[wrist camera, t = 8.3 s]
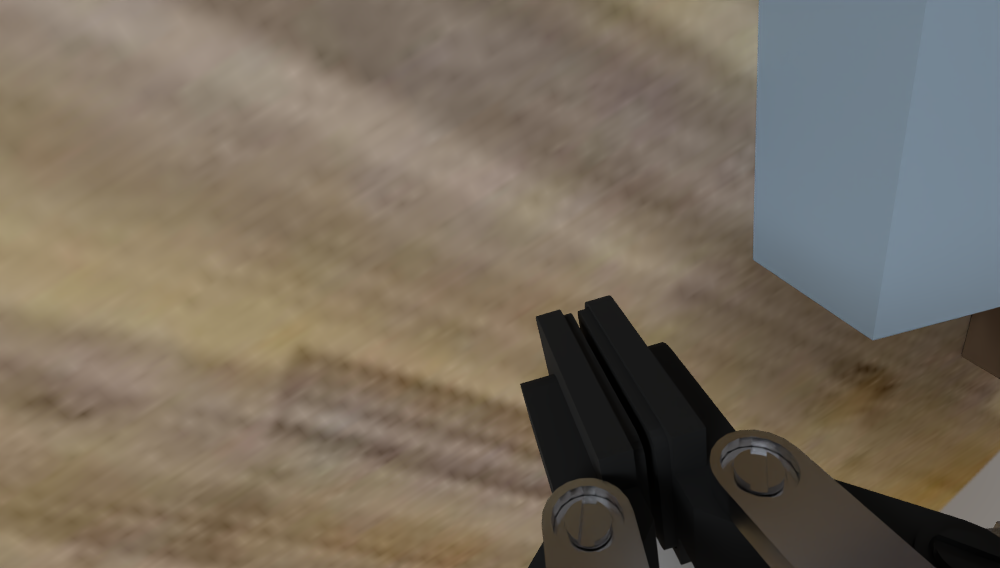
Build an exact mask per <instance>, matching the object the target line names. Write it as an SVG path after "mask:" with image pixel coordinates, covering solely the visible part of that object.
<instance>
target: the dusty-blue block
mask: <svg viewBox="0 0 1000 568" xmlns="http://www.w3.org/2000/svg"><path fill="white" fill-rule="evenodd" d="M753 260H754V261H756V262H757V263H759V264H760V265H762V266H763V267H765V268H766V269H768V270H769V271H771V272H772V273H774V274H775V275H777V276H778V277H779V278H781V279H782V280H784V281H785V282H787V283H788V284H790V285H791V286H793V287H794V288H796V289H797V290H799V291H800V292H802V293H803V294H805V295H806V296H808V297H809V298H811V299H812V300H814V301H815V302H816V303H818V304H819V305H821V306H822V307H824V308H825V309H827V310H828V311H830V312H831V313H833V314H834V315H836V316H837V317H839V318H840V319H842V320H843V321H845V322H846V323H848V324H849V325H850V326H852V327H853V328H855V329H856V330H858V331H859V332H861V333H862V334H864V335H865V336H867V337H868V338H870V339H871V340H876V339H880V338H884V337H888V336H891V335H895V334H899V333H903V332H907V331H910V330H914V329H918V328H922V327H925V326H929V325H933V324H937V323H941V322H944V321H948V320H952V319H956V318H960V317H963V316H967V315H971V314H975V313H978V312H982V311H986V310H990V309H994V308H997V307H1000V0H759V23H758V66H757V109H756V152H755V195H754V238H753Z"/></svg>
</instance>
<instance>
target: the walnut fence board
mask: <svg viewBox="0 0 1000 568" xmlns="http://www.w3.org/2000/svg"><path fill="white" fill-rule="evenodd" d="M962 357H964V358H966V359H967V360H969V361H971V362H972V363H974V364H976V365H977V366H979V367H981V368H982V369H984V370H986V371H987V372H989V373H991V374H992V375H994V376H996V377H997V378H999V379H1000V307H997V308H994V309H990V310H986V311H982V312H978V313H975V314H972V317H971V321H970V325H969V329H968V333H967V337H966V341H965V344H964V348H963V352H962Z"/></svg>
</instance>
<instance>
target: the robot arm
mask: <svg viewBox="0 0 1000 568" xmlns="http://www.w3.org/2000/svg"><path fill="white" fill-rule="evenodd" d="M578 319H579V324H580V328H579V326H578V324H577V322H576V320H575V319H574V317H573V315H572V314H571V313H570V314H566V315H563V314H562V312H561V310H557V311H553V312H550V313H546V314H543V315H539V316H536V321H537V326H538V330H539V334H540V338H541V343H542V347H543V351H544V356H545V360H546V364H547V368H548V373H549V376H545V377H542V378H539V379H535V380H532V381H528V382H525V383H522V384H520V385H521V389H522V393H523V396H524V400H525V403H526V407H527V411H528V414H529V418H530V421H531V425H532V428H533V432H534V435H535V438H536V442H537V445H538V448H539V452H540V455H541V458H542V461H543V465H544V468H545V471H546V475H547V478H548V481H549V484H550V488H551V491H552V495H551V496H550V497H549V498H548V499H547V502H546V504H545V507H544V509H543V512H542V533H543V543H542V545H541V547H540V548H539V550H538V552H537V553H536V555H535V557H534V558H533V560H532V562H531V564H530V565H529V567H528V568H660V567H659V558H658V549H657V540H656V537H657V539H658V541H659V543H660V545H661V547H662V548H663V550H667V549H670V548H673V550H674V552H675V554H676V556H677V558H678V560H679V562H680V564H681V565H683V564H686V563H689V562H692V564H693V566H694V568H1000V521H997V522H996V524H995V526H994V528H989V529H985V528H982V527H980V526H978V525H975V524H973V523H970V522H968V521H965V520H963V519H959V518H956V517H953V516H950V515H947V514H943V513H940V512H937V511H934V510H931V509H927V508H924V507H921V506H918V505H915V504H911V503H908V502H905V501H902V500H899V499H895V498H892V497H889V496H886V495H883V494H879V493H876V492H873V491H870V490H867V489H863V488H860V487H857V486H854V485H851V484H847V483H844V482H841V481H838V480H835V479H833V478H832V477H831V476H830V475H828V474H827V473H826V472H825V471H824V470H823V469H822V468H820V467H819V466H818V465H817V464H816V463H815V462H813V461H812V460H811V459H810V458H809V457H808V456H807V455H805V454H804V453H803V452H802V451H801V450H800V449H799V448H797V447H796V446H795V445H793V444H792V443H790V442H789V441H787V440H786V439H784V438H782V437H780V436H777V435H775V434H772V433H770V432H764V431H759V430H739V431H735V430H734V428H733V427H732V426H731V424H730V423H729V422H728V421H727V419H726V418H725V417H724V416H723V414H722V413H721V412H720V410H719V409H718V408H717V407H716V405H715V404H714V403H713V402H712V400H711V399H710V398H709V396H708V395H707V394H706V393H705V391H704V390H703V389H702V388H701V386H700V385H699V384H698V382H697V381H696V380H695V379H694V377H693V376H692V375H691V374H690V372H689V371H688V370H687V368H686V367H685V366H684V365H683V363H682V362H681V361H680V360H679V358H678V357H677V356H676V354H675V353H674V352H673V351H672V349H671V348H670V347H669V346H668V345H667V344H666V343H664V342H661V343H658V344H654V345H651V346H647V345H646V344H645V342H644V341H643V340H642V338H641V337H640V335H639V334H638V333H637V331H636V330H635V328H634V327H633V326H632V324H631V323H630V322H629V320H628V319H627V317H626V316H625V315H624V313H623V312H622V310H621V309H620V308H619V306H618V305H617V303H616V302H615V301H614V299H613V298H612V297H611V296H609V295H608V296H605V297H601V298H598V299H595V300H591V301H588V302H585V309H584V310H580V311H578Z"/></svg>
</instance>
